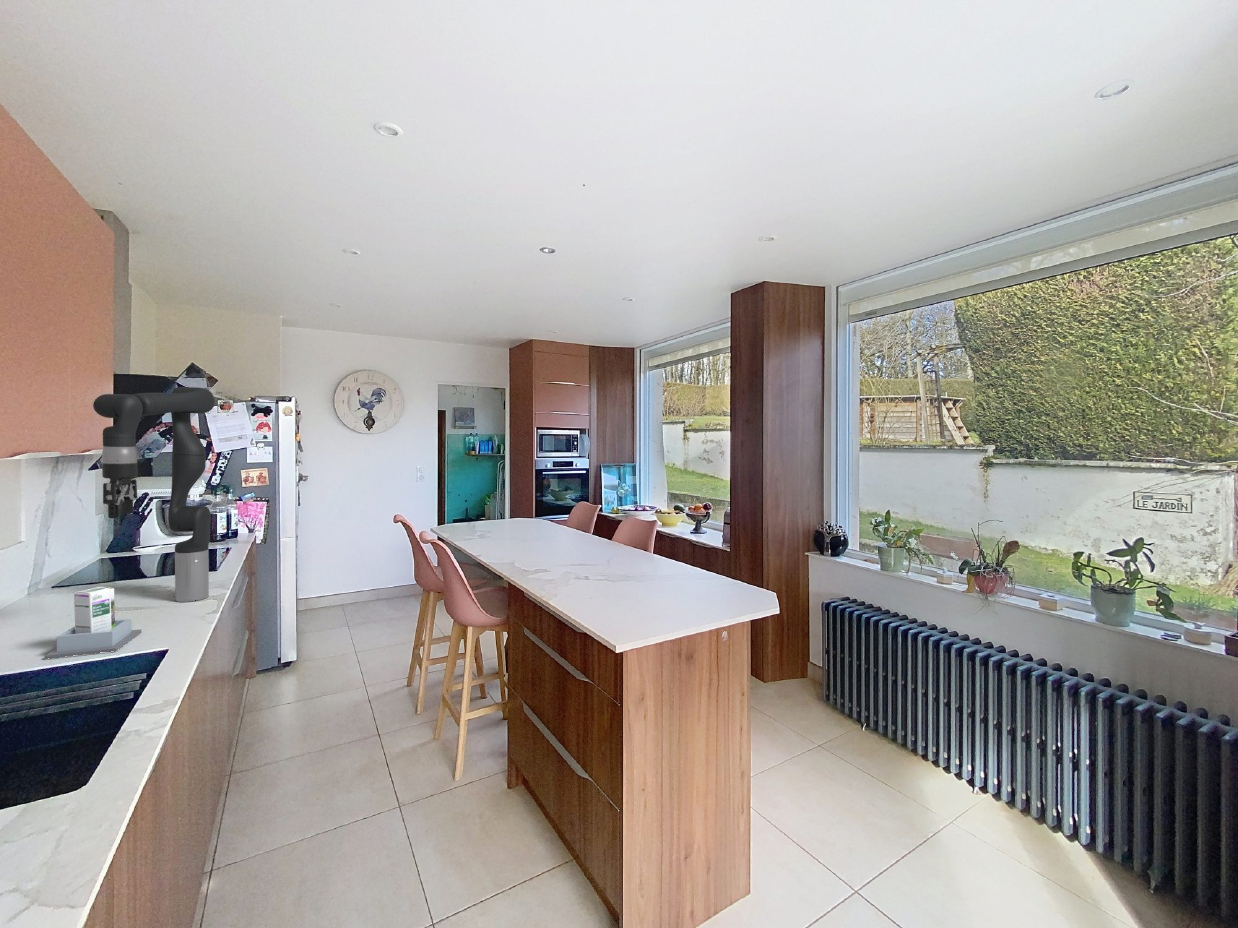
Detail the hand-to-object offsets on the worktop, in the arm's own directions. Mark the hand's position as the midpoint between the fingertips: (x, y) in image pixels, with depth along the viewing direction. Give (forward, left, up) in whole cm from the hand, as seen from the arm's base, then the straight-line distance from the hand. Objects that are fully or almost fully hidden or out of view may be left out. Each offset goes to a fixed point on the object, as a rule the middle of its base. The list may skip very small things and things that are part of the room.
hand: (121, 515), depth 153 cm
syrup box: (+15, -2, -33) cm, 36 cm away
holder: (+15, -2, -34) cm, 37 cm away
